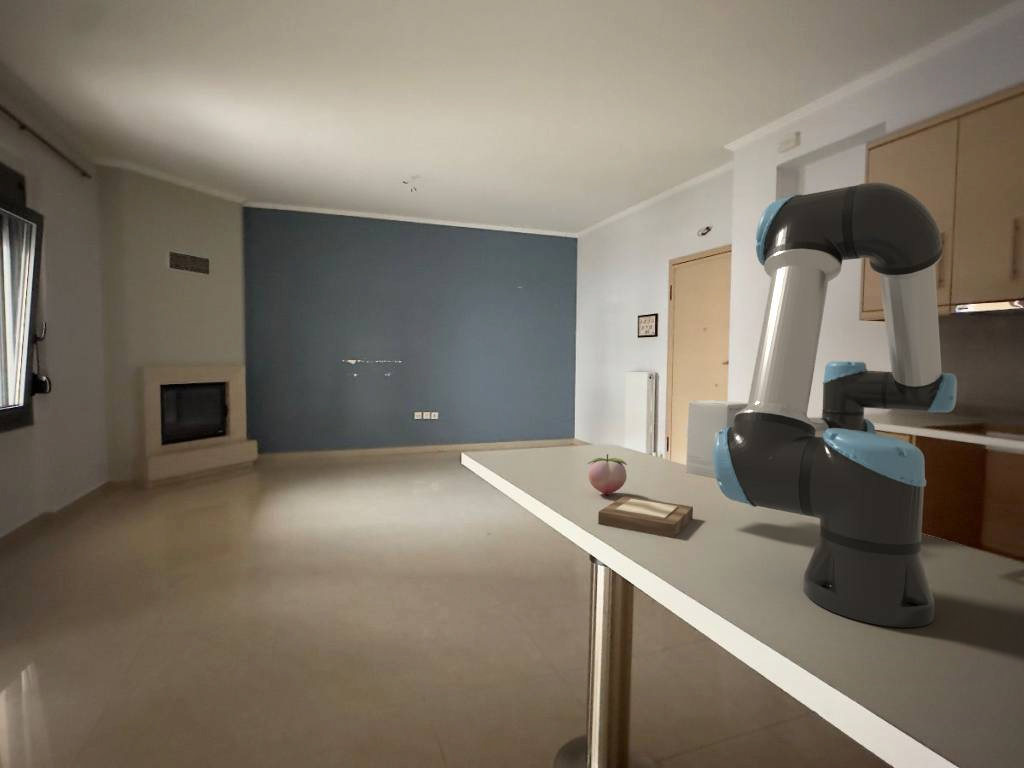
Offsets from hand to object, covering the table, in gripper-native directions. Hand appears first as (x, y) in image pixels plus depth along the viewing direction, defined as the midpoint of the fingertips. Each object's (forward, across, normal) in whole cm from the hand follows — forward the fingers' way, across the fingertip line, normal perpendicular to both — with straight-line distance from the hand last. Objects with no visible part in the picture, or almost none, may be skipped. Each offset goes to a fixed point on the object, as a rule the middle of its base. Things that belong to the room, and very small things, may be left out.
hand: (700, 435), depth 111 cm
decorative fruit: (+12, +24, -18) cm, 32 cm away
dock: (+10, +2, -18) cm, 21 cm away
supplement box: (-4, 0, -8) cm, 9 cm away
